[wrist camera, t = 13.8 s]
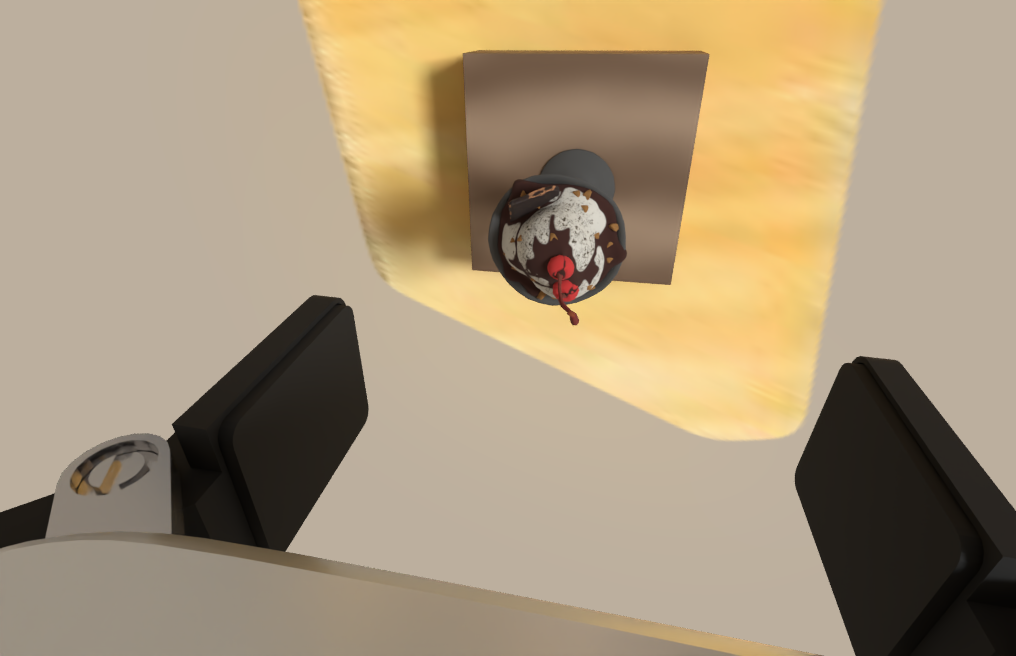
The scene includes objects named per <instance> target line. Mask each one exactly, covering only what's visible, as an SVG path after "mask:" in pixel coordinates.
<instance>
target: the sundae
mask: <svg viewBox="0 0 1016 656" xmlns="http://www.w3.org/2000/svg"><path fill="white" fill-rule="evenodd" d="M614 193H615V182H614V176H613V173H612V171H611V169H610V168H609V166H608V164H607V163H606V162H605V161H604V160H603V159H602V158H601V157H600V156H598V155H596V154H595V153H593V152H590V151H587V150H582V149H571V150H566V151H562V152H561V153H559V154H557V155H555V156H554V157H553V158H551V159H550V160H549V161H548V162H547V164H546V165H545V166H544V168H543V170H542V171H541V174H540V175H534V176H531V177H528V178H526V179H523V180H522V179H517V180H515V181H514V183H513V186H512V187H511V188H510V189H509V190H508V191H507V192H506V193H505V194H504V196H503V197H502V199H501V200H500V202H499V203H498V205H497V207H496V209H495V211H494V212H493V214H492V218H491V222H490V226H489V234H488V243H489V248H490V253H491V256H492V259H493V261H494V263H495V265H496V267H497V268H498V270H499V271H500V273H501V274H502V276H503V277H504V278H505V280H506V281H507V282H508V283H509V284H510V285H511V286H512V287H513V288H514V289H515V290H516V291H517V292H519V293H520V294H522V295H523V296H525V297H526V298H528V299H530V300H533V301H535V302H538V303H542V304H547V305H552V306H553V305H560V306H561V307H562V308H563V309H564V310H565V311H566V312H568V313H567V314H568V315H569V316H570V321H571V323H572V325H577V324H578V323H579V319H578V317H577V314H576V313H575V312H573V311H571V310H570V309H569V308H568V307H567V306H566V305H567V304H572V303H577V302H579V301H582V300H585V299H587V298H589V297H591V296H593V295H595V294H597V293H598V292H600V291H602V290H603V289H604V288H605V287H606V286H607V285H608V284H609V283H610V282H611V281H612V280H613V279H614V277H615V276H616V275H617V274H618V271H619V269H620V266H621V264H622V262H623V261H624V260H625V258H626V256H627V251H626V232H625V223H624V220H623V217H622V214H621V212H620V210H619V208H618V206H617V205H616V203H615V202H614V201H613V197H614Z"/></svg>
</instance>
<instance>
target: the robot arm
mask: <svg viewBox="0 0 1016 656" xmlns="http://www.w3.org/2000/svg"><path fill="white" fill-rule="evenodd" d="M367 417H368V401H367V395H366V389H365V382H364V376H363V370H362V364H361V358H360V352H359V345H358V340H357V334H356V327H355V321H354V315H353V310H352V308H351V307H350V306H346V305H345V303H344V301H343V300H342V299H341V298H336V297H327V296H317V295H313V296H311V297H310V298H309V299H307V300H306V301H305V302H304V303H303V304H302V305H301V306H300V307H299V308H298V309H297V310H296V311H294V312H293V313H292V314H291V315H290V316H289V317H288V318H287V319H286V320H285V321H284V322H282V323H281V324H280V325H279V326H278V327H277V328H276V329H275V330H274V331H273V332H272V333H270V334H269V335H268V336H267V337H266V338H265V339H264V340H263V341H262V342H261V343H260V344H258V345H257V346H256V347H255V348H254V349H253V350H252V351H251V352H250V353H249V354H248V355H247V356H245V357H244V358H243V359H242V360H241V361H240V362H239V363H238V364H237V365H236V366H235V367H233V368H232V369H231V370H230V371H229V372H228V373H227V374H226V375H225V376H224V377H223V378H222V379H220V380H219V381H218V382H217V383H216V384H215V385H214V386H213V387H212V388H211V389H210V390H208V391H207V392H206V393H205V394H204V395H203V396H202V397H201V398H200V399H199V400H198V401H197V402H195V403H194V404H193V406H191V407H190V408H189V409H188V410H187V411H186V412H185V413H184V414H183V415H182V416H180V417H179V418H178V419H177V420H176V421H175V422H174V423H173V424H172V426H173V428H174V430H175V433H174V434H173V435H172V436H171V437H170V438H169V439H168V440H167V441H166V440H164V439H163V438H161V437H160V436H157V435H153V434H131V435H127V436H121V437H117V438H115V439H112V440H109V441H106V442H104V443H101V444H99V445H97V446H96V447H93V448H92V449H90V450H88V451H86V452H85V453H83V454H82V455H81V456H79V457H78V458H77V459H75V460H74V461H73V462H72V463H71V464H70V465H69V466H68V467H67V468H66V469H65V470H64V471H63V472H62V474H61V476H60V479H59V481H58V483H57V486H56V491H55V493H54V494H52V495H49V496H46V497H43V498H41V499H37V500H34V501H32V502H29V503H26V504H23V505H20V506H17V507H15V508H12V509H9V510H6V511H3V512H0V656H822V655H817V654H812V653H807V652H802V651H797V650H792V649H787V648H782V647H777V646H772V645H767V644H762V643H757V642H751V641H747V640H741V639H737V638H731V637H726V636H721V635H716V634H711V633H706V632H701V631H696V630H691V629H686V628H681V627H676V626H671V625H665V624H661V623H656V622H651V621H646V620H641V619H635V618H631V617H625V616H620V615H615V614H609V613H605V612H600V611H594V610H589V609H584V608H579V607H574V606H569V605H563V604H558V603H553V602H548V601H543V600H538V599H532V598H527V597H522V596H516V595H512V594H506V593H501V592H496V591H491V590H486V589H481V588H476V587H470V586H465V585H459V584H454V583H449V582H444V581H439V580H434V579H428V578H423V577H418V576H412V575H407V574H401V573H396V572H391V571H386V570H380V569H375V568H369V567H364V566H359V565H354V564H348V563H343V562H337V561H332V560H327V559H322V558H316V557H311V556H305V555H300V554H295V553H289V552H285V551H286V550H287V548H288V546H289V545H290V543H291V542H292V540H293V538H294V537H295V535H296V534H297V532H298V530H299V529H300V527H301V526H302V524H303V522H304V521H305V519H306V518H307V516H308V514H309V513H310V511H311V510H312V508H313V506H314V505H315V503H316V501H317V500H318V498H319V497H320V495H321V493H322V492H323V490H324V489H325V487H326V485H327V484H328V482H329V481H330V479H331V477H332V475H333V474H334V472H335V471H336V469H337V468H338V466H339V465H340V463H341V461H342V460H343V458H344V457H345V455H346V453H347V452H348V450H349V448H350V447H351V445H352V444H353V442H354V440H355V439H356V437H357V436H358V434H359V432H360V431H361V429H362V428H363V426H364V424H365V422H366V420H367ZM795 486H796V490H797V493H798V496H799V498H800V501H801V504H802V507H803V509H804V512H805V515H806V517H807V521H808V523H809V526H810V529H811V532H812V535H813V538H814V540H815V543H816V546H817V549H818V551H819V554H820V557H821V560H822V563H823V565H824V568H825V571H826V574H827V577H828V579H829V582H830V585H831V588H832V591H833V593H834V596H835V599H836V602H837V605H838V607H839V610H840V613H841V616H842V619H843V621H844V624H845V627H846V630H847V633H848V635H849V638H850V641H851V644H852V647H853V649H854V652H855V655H856V656H1016V511H1015V509H1014V508H1013V507H1012V505H1011V504H1010V503H1009V502H1008V501H1007V499H1006V498H1005V496H1004V495H1003V494H1002V493H1001V491H1000V490H999V489H998V487H997V486H996V485H995V484H994V483H993V481H992V480H991V479H990V477H989V476H988V475H987V473H986V472H985V471H984V469H983V468H982V467H981V466H980V464H979V463H978V462H977V460H976V459H975V458H974V457H973V456H972V454H971V453H970V451H969V450H968V449H967V448H966V446H965V445H964V444H963V442H962V441H961V440H960V439H959V437H958V436H957V435H956V434H955V432H954V431H953V430H952V428H951V427H950V426H949V425H948V423H947V422H946V421H945V419H944V418H943V417H942V415H941V414H940V413H939V412H938V410H937V409H936V408H935V406H934V405H933V404H932V403H931V401H930V400H929V399H928V397H927V396H926V395H925V394H924V392H923V391H922V390H921V388H920V387H919V386H918V385H917V383H916V382H915V381H914V379H913V378H912V377H911V376H910V374H909V373H908V372H907V371H906V369H905V368H904V367H903V365H902V364H901V363H900V362H898V361H896V360H890V359H880V358H872V357H863V356H860V357H857V358H856V359H855V360H854V361H853V362H852V363H845V364H843V365H842V367H841V368H840V370H839V372H838V375H837V377H836V379H835V382H834V384H833V386H832V388H831V391H830V393H829V395H828V397H827V400H826V402H825V404H824V407H823V409H822V411H821V413H820V416H819V418H818V420H817V422H816V425H815V427H814V429H813V432H812V434H811V436H810V438H809V441H808V443H807V445H806V448H805V450H804V452H803V454H802V457H801V459H800V461H799V464H798V466H797V468H796V473H795Z"/></svg>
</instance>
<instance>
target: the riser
mask: <svg viewBox="0 0 1016 656" xmlns="http://www.w3.org/2000/svg"><path fill="white" fill-rule="evenodd" d="M708 59H709V54H708V53H705V52H702V51H485V50H479V51H473V52H468V53H463V66H464V89H465V112H466V135H467V159H468V182H469V205H470V228H471V251H472V270H479V271H492V272H500V271H499V270H498V268H497V267H496V265H495V263H494V261H493V259H492V256H491V253H490V248H489V243H488V234H489V226H490V222H491V218H492V214H493V212H494V211H495V209H496V207H497V205H498V203H499V202H500V200H501V199H502V197H503V196H504V194H505V193H506V192H507V191H508V190H509V189H510V188H511V187H512V186H513V183H514V181H515V180H517V179H522V180H523V179H526V178H528V177H531V176H534V175H540V174H541V171H542V170H543V168H544V166H545V165H546V164H547V162H548V161H549V160H550V159H551V158H553V157H554V156H555V155H557V154H559V153H561V152H562V151H566V150H571V149H582V150H587V151H590V152H593V153H595V154H596V155H598V156H600V157H601V158H602V159H603V160H604V161H605V162H606V163H607V164H608V166H609V168H610V169H611V171H612V173H613V176H614V182H615V193H614V197H613V201H614V202H615V203H616V205H617V206H618V208H619V210H620V212H621V214H622V217H623V220H624V223H625V232H626V251H627V256H626V258H625V260H624V261H623V262H622V264H621V266H620V269H619V271H618V274H617V275H616V276H615V277H614V279H613V280H612V281H625V282H638V283H652V284H665V285H671V279H672V273H673V268H674V262H675V256H676V250H677V244H678V238H679V232H680V226H681V220H682V214H683V208H684V202H685V196H686V190H687V184H688V178H689V172H690V166H691V161H692V155H693V149H694V143H695V137H696V131H697V125H698V119H699V113H700V107H701V101H702V95H703V89H704V83H705V77H706V71H707V65H708Z"/></svg>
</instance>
